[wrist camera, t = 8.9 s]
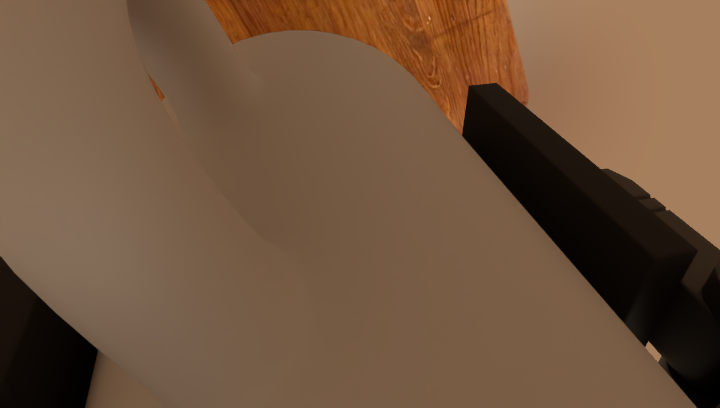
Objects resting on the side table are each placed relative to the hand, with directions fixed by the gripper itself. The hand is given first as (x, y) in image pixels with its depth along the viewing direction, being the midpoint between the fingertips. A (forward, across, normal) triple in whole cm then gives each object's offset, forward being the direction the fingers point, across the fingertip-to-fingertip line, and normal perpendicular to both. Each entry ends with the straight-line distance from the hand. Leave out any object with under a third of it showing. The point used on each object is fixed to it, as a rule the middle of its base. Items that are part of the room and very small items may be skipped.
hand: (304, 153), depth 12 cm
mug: (+2, -1, 0) cm, 2 cm away
